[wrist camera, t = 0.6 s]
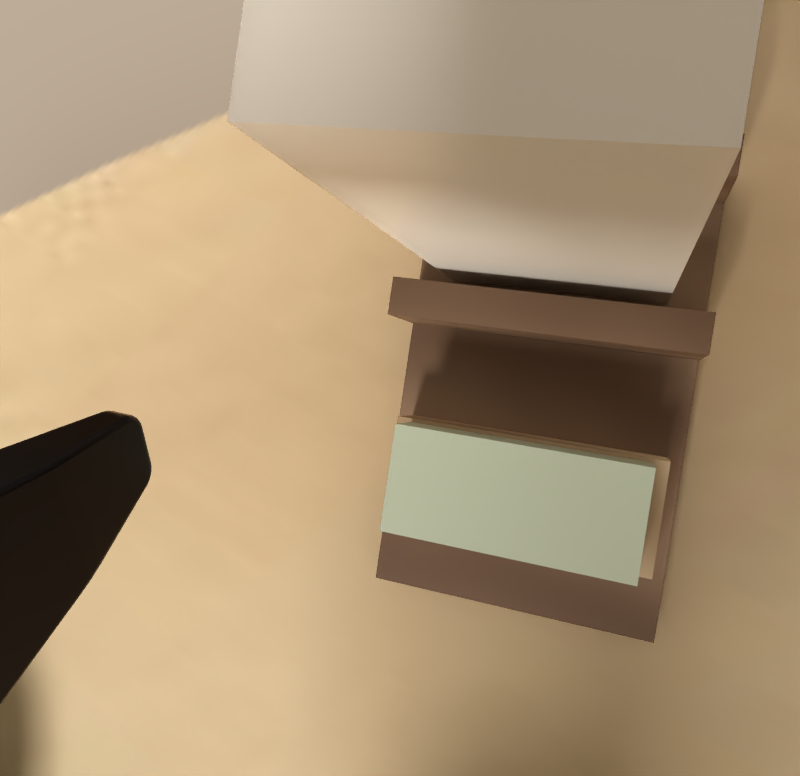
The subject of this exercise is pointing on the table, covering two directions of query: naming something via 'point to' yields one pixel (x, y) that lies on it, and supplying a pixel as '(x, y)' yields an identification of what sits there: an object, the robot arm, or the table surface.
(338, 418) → the table surface
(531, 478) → the offcut upper
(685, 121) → the white rectangular block
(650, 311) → the rack
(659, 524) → the offcut lower
